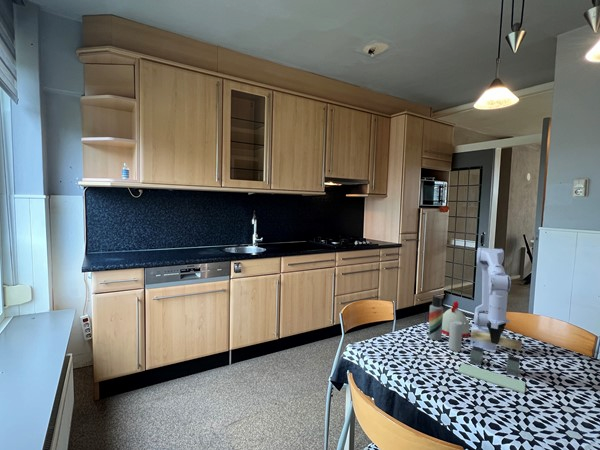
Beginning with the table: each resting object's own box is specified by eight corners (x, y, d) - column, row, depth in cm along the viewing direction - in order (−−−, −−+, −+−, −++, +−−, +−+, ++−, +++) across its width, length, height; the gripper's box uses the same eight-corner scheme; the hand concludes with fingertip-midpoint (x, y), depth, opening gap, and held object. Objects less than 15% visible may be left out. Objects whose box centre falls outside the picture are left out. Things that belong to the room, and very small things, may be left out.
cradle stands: (469, 362, 121) (470, 349, 121) (472, 358, 125) (472, 345, 125) (518, 377, 112) (519, 363, 111) (518, 371, 116) (519, 358, 115)
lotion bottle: (425, 335, 147) (428, 294, 146) (437, 335, 147) (439, 294, 146) (432, 340, 141) (434, 297, 140) (443, 340, 142) (446, 298, 140)
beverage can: (462, 353, 130) (464, 325, 129) (450, 351, 131) (451, 323, 130) (459, 348, 134) (460, 321, 134) (447, 346, 135) (448, 320, 135)
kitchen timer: (472, 332, 153) (474, 302, 152) (464, 340, 143) (466, 308, 142) (443, 324, 163) (445, 296, 162) (434, 331, 153) (435, 301, 152)
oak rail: (471, 338, 120) (471, 331, 120) (472, 335, 123) (472, 329, 123) (521, 350, 111) (521, 343, 110) (521, 347, 113) (521, 341, 113)
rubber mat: (457, 372, 114) (457, 371, 114) (462, 364, 120) (462, 362, 120) (524, 393, 101) (524, 392, 101) (525, 383, 108) (525, 382, 108)
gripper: (508, 313, 108) (506, 351, 109) (511, 304, 119) (509, 338, 120) (485, 309, 112) (483, 345, 113) (490, 300, 124) (488, 333, 124)
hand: (495, 341), depth 117 cm, fingers closed on oak rail, 3 cm apart
